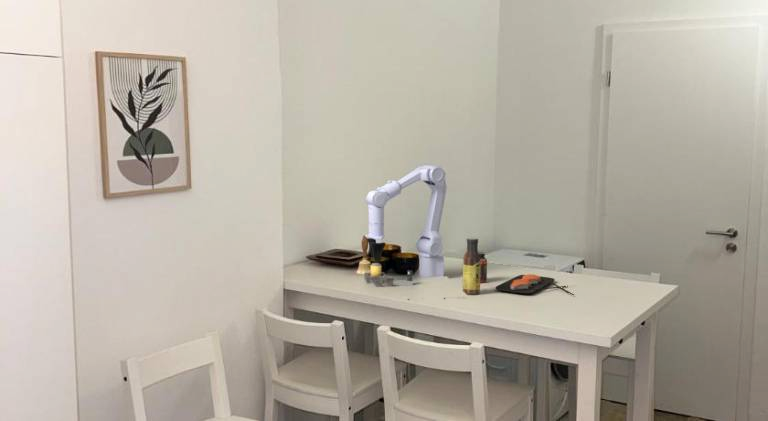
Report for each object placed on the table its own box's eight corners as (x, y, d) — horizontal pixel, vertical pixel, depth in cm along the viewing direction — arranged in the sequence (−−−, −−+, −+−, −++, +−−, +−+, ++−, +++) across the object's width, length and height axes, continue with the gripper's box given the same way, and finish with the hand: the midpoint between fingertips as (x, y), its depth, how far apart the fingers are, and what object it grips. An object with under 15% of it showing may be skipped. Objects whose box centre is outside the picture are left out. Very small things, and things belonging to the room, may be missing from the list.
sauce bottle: (479, 295, 267) (480, 240, 264) (461, 294, 268) (462, 239, 265) (480, 291, 273) (482, 237, 271) (463, 290, 274) (464, 236, 272)
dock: (406, 279, 292) (406, 268, 292) (414, 289, 275) (415, 278, 275) (362, 280, 289) (362, 269, 289) (368, 290, 273) (368, 279, 272)
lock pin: (411, 283, 279) (411, 270, 278) (412, 284, 277) (412, 271, 276) (390, 284, 277) (390, 271, 277) (391, 285, 276) (391, 272, 275)
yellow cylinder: (379, 279, 286) (380, 262, 285) (382, 281, 282) (382, 264, 281) (369, 280, 285) (369, 262, 284) (371, 282, 281) (371, 264, 280)
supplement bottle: (486, 280, 292) (487, 251, 291) (486, 283, 286) (487, 254, 285) (470, 279, 293) (471, 251, 291) (471, 283, 287) (471, 253, 285)
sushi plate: (521, 278, 298) (521, 269, 298) (597, 288, 283) (597, 278, 282) (492, 293, 273) (492, 282, 273) (573, 304, 258) (574, 293, 258)
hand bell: (375, 277, 294) (375, 237, 292) (353, 277, 295) (353, 237, 293) (375, 273, 303) (375, 234, 301) (354, 273, 303) (355, 233, 301)
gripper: (363, 220, 287) (362, 255, 289) (368, 226, 273) (367, 263, 274) (381, 220, 288) (381, 255, 290) (387, 225, 274) (387, 262, 275)
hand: (376, 259), depth 282 cm, fingers open, 7 cm apart
